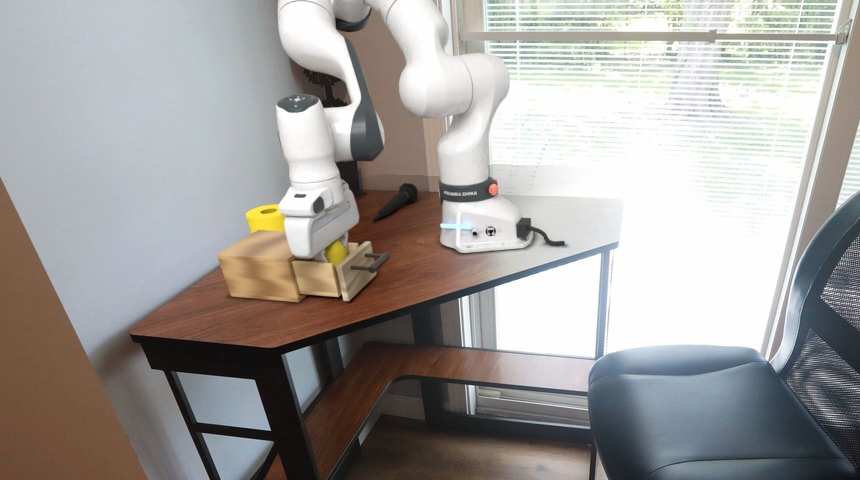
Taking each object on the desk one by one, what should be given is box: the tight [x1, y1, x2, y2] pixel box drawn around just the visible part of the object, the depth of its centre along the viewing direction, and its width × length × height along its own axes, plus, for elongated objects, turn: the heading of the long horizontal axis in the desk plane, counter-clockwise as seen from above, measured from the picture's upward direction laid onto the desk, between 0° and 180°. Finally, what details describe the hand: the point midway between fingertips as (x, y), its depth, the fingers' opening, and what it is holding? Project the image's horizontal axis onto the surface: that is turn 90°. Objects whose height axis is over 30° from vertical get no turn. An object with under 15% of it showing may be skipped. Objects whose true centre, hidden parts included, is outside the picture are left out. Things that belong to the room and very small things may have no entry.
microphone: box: [372, 182, 419, 222], centre depth 155 cm, size 6×6×20 cm
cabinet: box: [216, 230, 309, 303], centre depth 116 cm, size 16×14×9 cm
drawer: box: [290, 240, 391, 302], centre depth 113 cm, size 20×12×7 cm, turn 76°
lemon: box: [324, 240, 348, 276], centre depth 112 cm, size 6×6×8 cm
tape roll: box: [245, 203, 286, 234], centre depth 133 cm, size 10×10×9 cm
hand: (334, 261), depth 113 cm, fingers closed on lemon, 5 cm apart
